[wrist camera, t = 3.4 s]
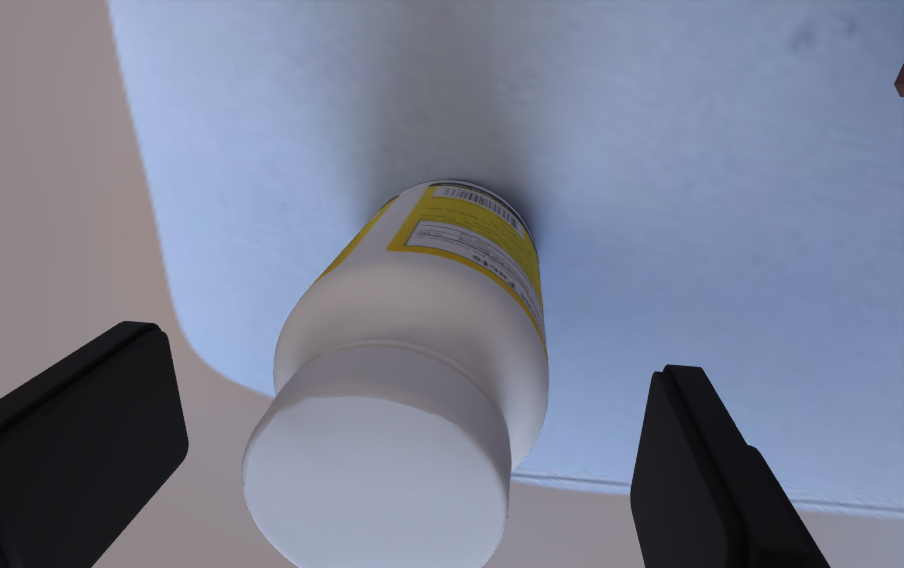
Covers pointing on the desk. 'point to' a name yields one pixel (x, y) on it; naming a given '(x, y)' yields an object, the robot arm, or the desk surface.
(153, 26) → the desk surface
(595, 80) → the desk surface
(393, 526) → the supplement bottle
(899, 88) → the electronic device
